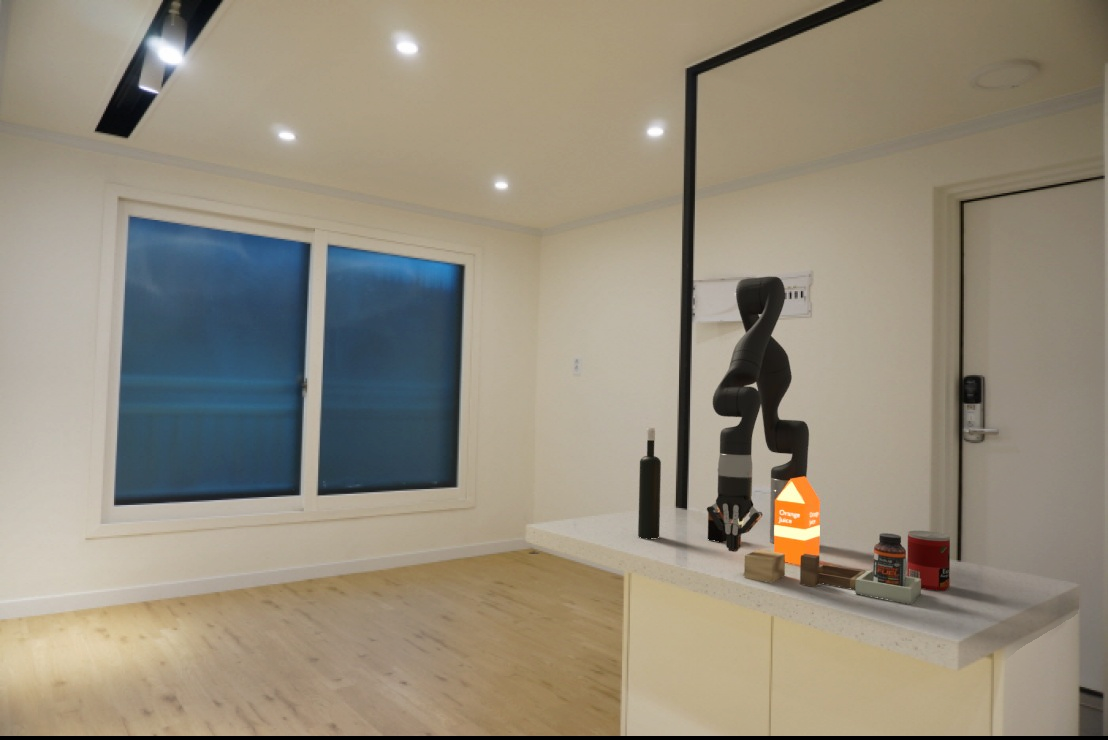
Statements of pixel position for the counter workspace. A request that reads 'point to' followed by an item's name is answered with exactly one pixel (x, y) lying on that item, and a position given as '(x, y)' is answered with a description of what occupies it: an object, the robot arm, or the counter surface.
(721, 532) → the battery
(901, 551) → the supplement bottle
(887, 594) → the tray
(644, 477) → the wine bottle
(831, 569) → the frame
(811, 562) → the post
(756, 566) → the natural wood cube
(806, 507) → the orange juice
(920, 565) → the canned food
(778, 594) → the counter surface
